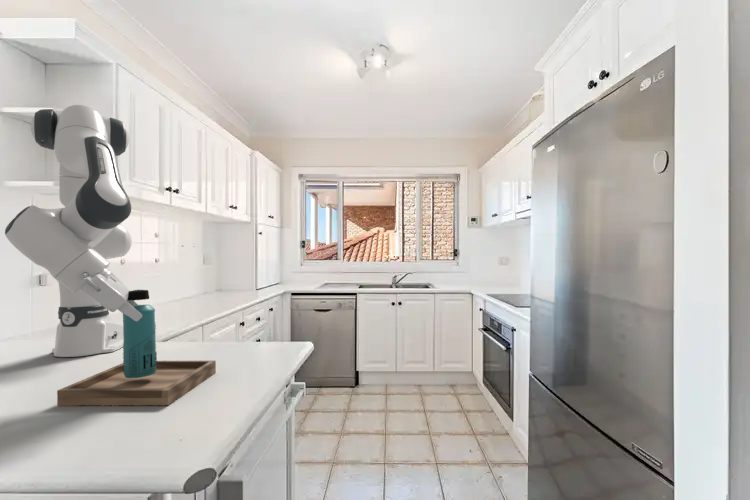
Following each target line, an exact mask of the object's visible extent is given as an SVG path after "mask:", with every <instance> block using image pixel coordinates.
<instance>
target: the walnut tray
mask: <svg viewBox="0 0 750 500" xmlns="http://www.w3.org/2000/svg"><path fill="white" fill-rule="evenodd" d="M156 365H157V366H156V367H157V368H156V373H154V374H152V375H150V376H146V377H140V378H126V377H125V375H124V374H123V373H124V363H123V362H121V363H120V364H118V365H115V366H112V367H110V368H108V369H105V370H103V371H101V372H97V373H95V374H93V375H91V376H88V377H86V378H83V379H82V380H79V381H76V382H75V383H72V384H70V385H68V386H67V385H66V386H65V387H62V388H59V389H57V392H56V395H57V397H56V399H57V402H56V405H57V407H59V406H60V407H77V406H76V405H101V406H100V407H105V406H104V405H107V406H106V407H109V406H108V405H112V406H111V407H119V406H118V405H169V404H170V405H172V404H173V403H174V402H176V401H177V400H179V399H180V398H182V397H183V396H185V395H186V394H188V393H189V392H190V391H192V390H193V389H195V388H196V387H197V386H199V385H200V384H202V383H204V381H206V380H207V379H210V377H212V376H213V375H215V374H216V372H217V371H216V369H217V367H216V366H217V364H216V360H157V362H156ZM178 398H179V399H178ZM175 400H176V401H175ZM171 403H172V404H171ZM73 405H74V406H73ZM115 405H116V406H115ZM170 405H169V406H170Z"/></svg>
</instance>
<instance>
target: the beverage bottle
mask: <svg viewBox="0 0 750 500" xmlns="http://www.w3.org/2000/svg"><path fill="white" fill-rule="evenodd" d="M128 295H129V296H128V300H134V301H141V300H142V301H143V300H144V301H145V300H149V299H150V293H149V290H147V289H134V290H129V292H128ZM132 306H133V307H134V308H135V309H136V310H138V311H139V312H140V313H142V318H140V319H139V320H138V321H134V320H133V319H132V318H130V317H129V316H127V315H125V314H123V313H122V326H123V337H124V343H123V347H122V351H123V352H122V359H123V361H122V363H124V373H123V374H124V375H125V377H126V378H140V377H146V376H150V375H152V374H154V373H156V368H157V367H156V366H157V365H156V362H157V361H158V360H157V350H156V349H157V345H156V344H157V343H156V341H157V339H156V330H157V328H156V326H157V325H156V317H155V316H156V315H155V312H156V309H155V308H154V307H153V306H152V305H150V304H138V305H132Z"/></svg>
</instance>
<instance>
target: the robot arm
mask: <svg viewBox="0 0 750 500" xmlns="http://www.w3.org/2000/svg"><path fill="white" fill-rule="evenodd" d="M126 127H127V125H126V124H125V123H124V122H123V121H122V120H119V119H117V118H113V117H109V118H108V117H106V116H102V115H101V114H100V113H99V112H98V111H97V110H95V109H94V108H92V107H90V106H88V105H83V104H73V105H69V106H67V107H66V108H64V109H63V110H54V109H53V108H49V109H48V108H46V109H45V108H44V109H39V110H38V111H35V113H34V115H33V117H32V119H31V122H30V131H31V135H32V136H33V138H34V141H35V144H37V145H39V146H40V147H42V148H43V149H44V148H45V149H48V150H52V151H54V154H55V157H56V159H57V162H58V163H59V173H58V175H59V176H58V177H59V182H58V183H59V184H58V185H59V189H58V191H59V196H58V197H59V201H60V203H61V205H63V206H64V207H60V208H59V207H58V208H40V207H38V206H37V205H33V204H32V205H29V206H27V207H25V208H23V209H22V210H20V212H18V213H17V214H16V216H15V217H14V218H12V219H11V221H9V223H8V224H7V226H6V227H5V230H4V235H5V237H6V238H7V240H8V241H9V243H10V244H11V245H12V246H14V248H15V249H17V250H18V251H19V252H20V253H22V255H23V256H25V257H26V258H28V259H29V260H30V261H31V262H32V263H34V264H35V265H37V266H40V267H42V268H44V269H45V270H47V271H48V273H49V274H50V275H51V277H52V278H53V279H55V280H56V281H57V282H58V289H59V302H60V304H59V305H60V306H58V312H57V315H58V318H57V319H59V323H58V324H57V326H56V333H55V341H54V347H53V348H52V350H51V353H52V354H53V356H54V357H58V358H70V357H71V358H74V357H76V358H77V357H84V356H91V355H97V354H105V353H113V352H116V351H117V350H119V349H123V343H124V337H123V324H121V323H120V322H118V321H117V320H116V319H114V318H113V317H112V316H111V315H110V312H111V313H115V312H116V311H119V312H120V313H122V315H123V314H125V315H127V316H129V317H130V318H132V319H133V320H134V321H138V320H139V319H140V318H142V313H140V312H139V311H138V310H136V309H135V308H134V307H133V306H132V305H139V304H138V303H137V301H136V300H128V296H129V295H128V292H129V291H130V289H129V288H128V287H127V286H126V285H125V284H124V283H123V282H122V281H121V280H120V279H119V278H118V277H117V276H116V275H115V274H114V273H113V272H112V271H111V269H109V267H110V266H109V265H110V264H111V262H110V261H109V260H110V259H111V260H112V259H116V258H121V257H124V256H126V255H127V254H128V253H129V252H130V249H131V247H132V236H131V234H130V232H129V230H127V228H125V227H124V226H123V225H121V224H122V223H123V222H124V221H125V220H127V219H128V218H129V217H130V215H131V213H132V204H131V200H130V198H129V196H128V194H127V192H126V191H125V188H124V186H123V183H122V179H121V174H120V170H119V166H118V165H119V164H118V160H117V157H118V156H119V157H120V156H121V155H122V154H123V153H125V152H126V150H127V148H128V147H129V143H130V135H129V131H128V129H127V128H126Z"/></svg>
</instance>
